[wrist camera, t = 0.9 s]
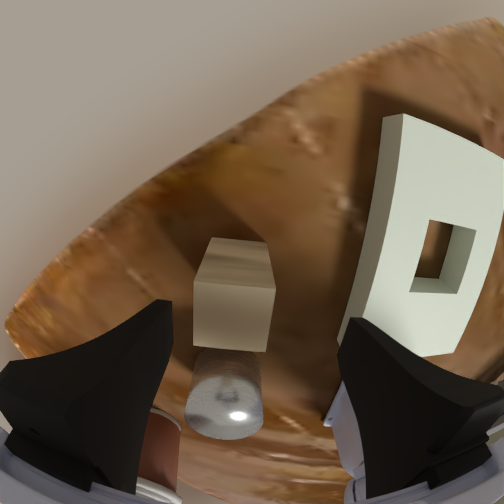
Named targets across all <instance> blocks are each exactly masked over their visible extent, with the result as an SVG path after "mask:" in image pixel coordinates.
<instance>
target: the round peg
mask: <svg viewBox="0 0 504 504" xmlns="http://www.w3.org/2000/svg"><path fill="white" fill-rule="evenodd" d="M184 416H185V420H186V422H187V423H188V425H189V426H190V427H191V428H192V429H194V430H195V431H197V432H198V433H200V434H203V435H205V436H208V437H211V438H216V439H224V440H232V439H240V438H245V437H248V436H250V435H252V434H254V433H256V432H257V431H258V430H259V429H260V428H261V426H262V424H263V405H262V387H261V370H260V363H259V360H258V359H257V357H256V356H255V355H254V354H253V353H252V352H251V351H243V350H231V349H221V348H211V347H208V348H206V349H204V350H203V351H202V352H200V353H199V355H198V356H197V358H196V362H195V366H194V371H193V375H192V380H191V385H190V389H189V394H188V399H187V404H186V409H185V415H184Z"/></svg>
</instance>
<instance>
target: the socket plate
mask: <svg viewBox="0 0 504 504" xmlns="http://www.w3.org/2000/svg"><path fill="white" fill-rule="evenodd" d="M503 211H504V159H502V158H501V157H499V156H497V155H495V154H494V153H492V152H490V151H488V150H486V149H484V148H482V147H481V146H479V145H477V144H475V143H473V142H471V141H469V140H467V139H465V138H462V137H460V136H458V135H456V134H454V133H452V132H449V131H447V130H445V129H443V128H440V127H438V126H435V125H433V124H431V123H428V122H425V121H423V120H420V119H418V118H415V117H412V116H410V115H407V114H404V113H403V114H398V115H392V116H387V117H383V120H382V130H381V139H380V148H379V156H378V163H377V170H376V177H375V183H374V190H373V195H372V201H371V207H370V212H369V217H368V222H367V227H366V232H365V237H364V241H363V246H362V250H361V254H360V259H359V263H358V267H357V271H356V275H355V279H354V282H353V286H352V290H351V294H350V297H349V301H348V304H347V308H346V311H345V314H344V318H343V321H342V324H341V327H340V331H339V334H338V337H337V341H338V343H339V346H340V345H341V342H342V339H343V337H344V334H345V331H346V328H347V325H348V322H349V319H350V317H363V318H365V319H366V320H368V321H370V322H371V323H373V324H374V325H375V326H377V327H378V328H380V329H381V330H382V331H384V332H385V333H386V334H388V335H389V336H390V337H392V338H393V339H394V340H396V341H397V342H399V343H400V344H401V345H403V346H404V347H406V348H407V349H409V350H410V351H412V352H413V353H415V354H416V355H418V356H420V357H423V356H432V355H440V354H447V353H453V352H454V350H455V348H456V346H457V344H458V342H459V340H460V338H461V336H462V334H463V332H464V330H465V327H466V325H467V323H468V321H469V319H470V316H471V314H472V312H473V309H474V307H475V304H476V302H477V299H478V297H479V294H480V291H481V289H482V286H483V283H484V280H485V278H486V275H487V272H488V269H489V265H490V262H491V259H492V256H493V252H494V249H495V245H496V241H497V237H498V233H499V229H500V225H501V220H502V215H503ZM429 219H431V220H436V221H440V222H445V223H449V224H453V225H454V226H453V230H452V234H451V238H450V242H449V246H448V249H447V253H446V256H445V260H444V263H443V266H442V270H441V273H440V276H439V279H435V278H422V277H414V275H415V272H416V269H417V265H418V262H419V258H420V255H421V251H422V247H423V243H424V239H425V235H426V231H427V227H428V223H429Z"/></svg>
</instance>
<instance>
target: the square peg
mask: <svg viewBox="0 0 504 504" xmlns="http://www.w3.org/2000/svg"><path fill="white" fill-rule="evenodd" d="M275 293H276V286H275V281H274V276H273V271H272V266H271V261H270V257H269V252H268V247H267V242H257V241H247V240H237V239H227V238H216V237H211V240H210V242H209V245H208V247H207V250H206V252H205V254H204V257H203V259H202V262H201V264H200V267H199V269H198V272H197V274H196V277H195V280H194V298H193V345H194V346H202V347H211V348H221V349H231V350H243V351H257V352H265V351H266V346H267V340H268V335H269V329H270V323H271V317H272V311H273V305H274V299H275Z"/></svg>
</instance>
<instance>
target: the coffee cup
mask: <svg viewBox="0 0 504 504" xmlns="http://www.w3.org/2000/svg"><path fill="white" fill-rule="evenodd" d="M180 432H181V425H180V424H179V422H178V421H177V420H176V419H175V418H174V417H173V416H171V415H170V414H168V413H166V412H164V411H162V410H159V409H155V408H152V407H151V410H150V413H149V417H148V421H147V426H146V430H145V435H144V440H143V445H142V450H141V456H140V462H139V469H138V476H137V485H136V496H140V497H144V498H148V499H152V500H157V501H162V502H166V503H172V504H181V503H182V498H181V497H180V496H179V495H178V494H177V493H176V485H177V469H178V456H179V443H180Z"/></svg>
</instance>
